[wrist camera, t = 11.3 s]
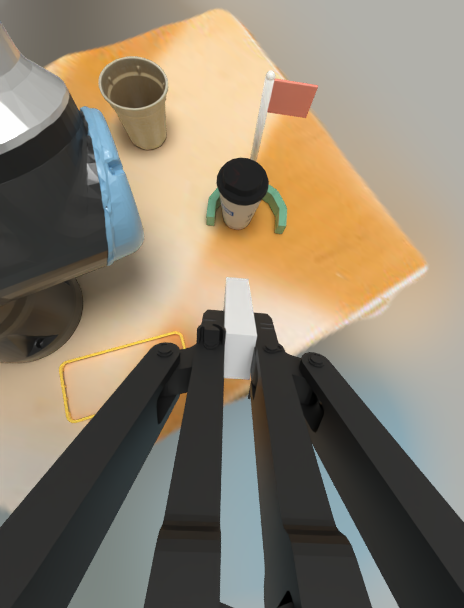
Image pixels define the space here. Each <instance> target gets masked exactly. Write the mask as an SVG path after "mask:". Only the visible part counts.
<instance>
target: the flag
mask: <svg viewBox="0 0 464 608" xmlns="http://www.w3.org/2000/svg"><path fill="white" fill-rule="evenodd" d="M317 88H318V85H312V84H306V83H300V82H294V81H287V80H281V79H275V73H274V72H273V71H268V72H267V74H266V78H265V83H264V88H263V94H262V99H261V104H260V110H259V115H258V120H257V125H256V131H255V136H254V141H253V147H252V152H251V157H250V159H251V160H253V161H257V156H258V152H259V147H260V143H261V138H262V134H263V129H264V125H265V120H266V116H267V112H269V113H276V114H283V115H290V116H296V117H303V118H306V116H307V114H308V111H309V109H310V106H311V103H312V101H313V98H314V96H315V93H316V91H317Z"/></svg>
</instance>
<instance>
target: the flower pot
mask: <svg viewBox="0 0 464 608" xmlns="http://www.w3.org/2000/svg"><path fill="white" fill-rule="evenodd" d="M99 88H100V91H101V93H102V95H103V97H104V98H105V100H106V101H107V102H108V103H109V104H110V105H111V107H112V108H113V109H114V110H115V111H116V113H117V115H118V117H119V119H120V120H121V122H122V124H123V126H124V128H125V130H126V131H127V133H128V135H129V137H130V139H131V141H132V142H133V144H134V145H136V146H139V147H140V148H142V149H146V150H150V149H155V148H157V147H159V146H161V145H162V143H163V141H164V140H165V139H166V116H165V101H166V94H167V91H168V79H167V76H166V74H165V73H164V71H163V70H162V69H161V68H160V66H158V65H157V64H156V63H154V62H153V61H150V60H148V59H145V58H141V57H131V56H130V57H124V58H120V59H117V60H114V61H113V62H111V63H109V64H108V65H107V66H106V67H105V68H104V69H103V70H102V72H101V74H100V76H99Z"/></svg>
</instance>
